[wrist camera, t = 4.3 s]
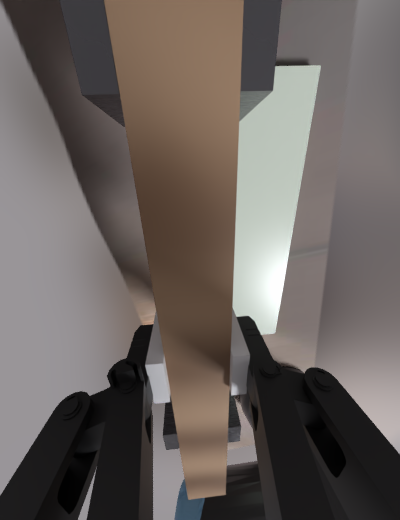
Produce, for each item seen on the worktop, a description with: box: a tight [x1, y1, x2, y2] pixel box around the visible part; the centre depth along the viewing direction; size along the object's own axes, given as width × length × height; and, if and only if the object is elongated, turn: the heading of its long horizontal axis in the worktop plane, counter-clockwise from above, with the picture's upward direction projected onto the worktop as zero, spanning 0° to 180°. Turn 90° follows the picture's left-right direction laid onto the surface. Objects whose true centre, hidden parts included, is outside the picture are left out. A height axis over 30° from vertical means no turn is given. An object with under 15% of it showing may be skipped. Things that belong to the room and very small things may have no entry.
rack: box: [60, 0, 282, 450], centre depth 18 cm, size 30×8×16 cm, turn 2°
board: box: [232, 65, 321, 335], centre depth 25 cm, size 34×8×1 cm, turn 2°
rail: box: [104, 0, 244, 500], centre depth 10 cm, size 30×3×3 cm, turn 2°
